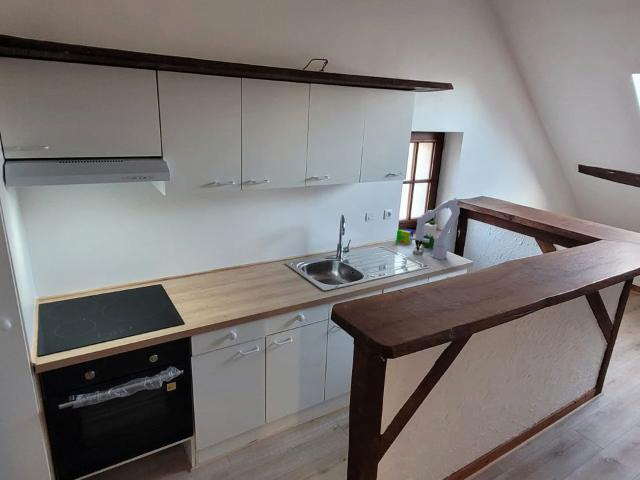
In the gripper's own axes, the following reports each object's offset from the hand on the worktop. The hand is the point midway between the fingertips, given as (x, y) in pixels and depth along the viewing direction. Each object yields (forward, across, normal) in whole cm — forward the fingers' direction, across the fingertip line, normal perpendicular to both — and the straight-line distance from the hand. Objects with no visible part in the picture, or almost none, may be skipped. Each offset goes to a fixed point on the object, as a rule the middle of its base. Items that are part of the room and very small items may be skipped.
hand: (417, 250), depth 305 cm
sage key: (+1, 0, 0) cm, 1 cm away
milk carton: (+3, -6, -21) cm, 22 cm away
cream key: (0, 0, -5) cm, 5 cm away
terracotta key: (0, 0, -10) cm, 10 cm away
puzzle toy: (+3, +13, -25) cm, 28 cm away
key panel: (+2, 0, -5) cm, 6 cm away
